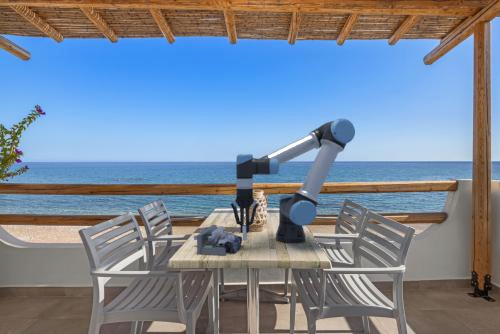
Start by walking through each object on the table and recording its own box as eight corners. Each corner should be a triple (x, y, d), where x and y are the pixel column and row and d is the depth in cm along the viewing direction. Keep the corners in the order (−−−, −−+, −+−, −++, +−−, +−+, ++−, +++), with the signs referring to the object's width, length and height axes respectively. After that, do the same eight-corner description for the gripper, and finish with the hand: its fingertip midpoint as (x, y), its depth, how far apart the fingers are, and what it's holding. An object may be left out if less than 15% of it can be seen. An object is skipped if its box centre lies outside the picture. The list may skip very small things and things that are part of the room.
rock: (237, 251, 123) (240, 227, 128) (213, 248, 124) (218, 225, 129) (240, 257, 136) (243, 236, 140) (218, 254, 137) (222, 233, 141)
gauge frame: (236, 241, 145) (237, 225, 145) (225, 255, 123) (225, 236, 123) (212, 240, 147) (212, 224, 147) (197, 254, 125) (197, 235, 125)
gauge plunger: (225, 241, 145) (225, 224, 145) (212, 253, 125) (212, 234, 125) (202, 239, 147) (202, 223, 147) (185, 252, 127) (185, 233, 127)
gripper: (260, 187, 135) (260, 238, 136) (232, 187, 138) (232, 237, 138) (257, 188, 128) (257, 242, 128) (228, 188, 130) (228, 241, 131)
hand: (244, 239), depth 133 cm, fingers closed
